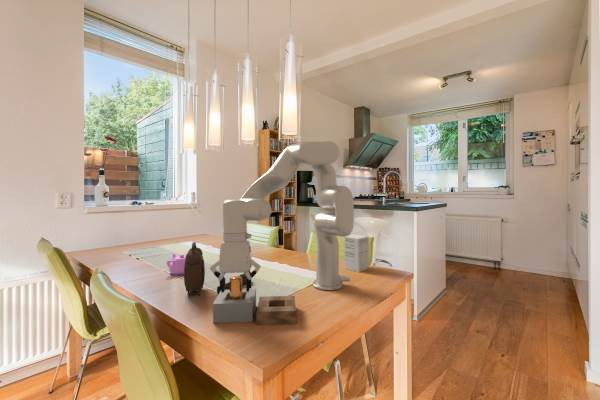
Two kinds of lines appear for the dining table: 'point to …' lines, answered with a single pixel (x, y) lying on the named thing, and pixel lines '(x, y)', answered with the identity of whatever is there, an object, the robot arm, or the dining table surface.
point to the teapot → (177, 264)
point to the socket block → (234, 307)
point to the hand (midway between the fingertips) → (235, 290)
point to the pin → (236, 288)
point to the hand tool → (227, 285)
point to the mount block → (276, 310)
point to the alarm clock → (194, 269)
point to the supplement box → (356, 252)
